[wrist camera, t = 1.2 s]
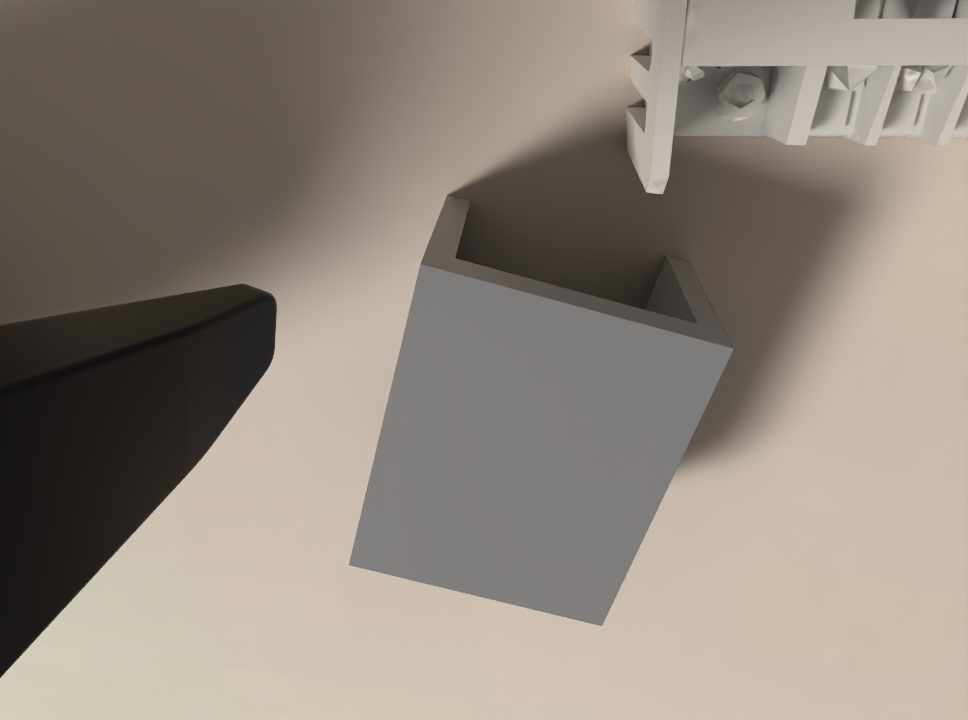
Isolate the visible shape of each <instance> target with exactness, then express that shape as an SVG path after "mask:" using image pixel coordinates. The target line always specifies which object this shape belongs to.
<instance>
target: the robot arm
mask: <svg viewBox="0 0 968 720" xmlns="http://www.w3.org/2000/svg"><path fill="white" fill-rule="evenodd" d="M276 312H277V305H276V300H275V298H274V297H273V295H272V294H270V293H268V292H265V291H263V290H260V289H257V288H255V287H252V286H249V285H246V284H238V285H232V286H226V287H220V288H214V289H209V290H203V291H197V292H191V293H185V294H179V295H174V296H168V297H162V298H156V299H150V300H144V301H138V302H133V303H127V304H121V305H115V306H109V307H103V308H97V309H92V310H86V311H80V312H74V313H68V314H62V315H56V316H51V317H45V318H39V319H33V320H27V321H21V322H15V323H10V324H4V325H0V678H1V677H2V675H3V674H4V673H5V672H6V671H7V670H8V669H9V668H10V667H11V666H12V665H13V664H14V662H15V661H16V660H17V659H18V658H19V657H20V656H21V655H22V654H23V653H24V652H25V651H26V649H27V648H28V647H29V646H30V645H31V644H32V643H33V642H34V641H35V640H36V639H37V637H38V636H39V635H40V634H41V633H42V632H43V631H44V630H45V629H46V628H47V627H48V626H49V624H50V623H51V622H52V621H53V620H54V619H55V618H56V617H57V616H58V615H59V614H60V612H61V611H62V610H63V609H64V608H65V607H66V606H67V605H68V604H69V603H70V602H71V601H72V599H73V598H74V597H75V596H76V595H77V594H78V593H79V592H80V591H81V590H82V589H83V587H84V586H85V585H86V584H87V583H88V582H89V581H90V580H91V579H92V578H93V577H94V576H95V574H96V573H97V572H98V571H99V570H100V569H101V568H102V567H103V566H104V565H105V564H106V563H107V561H108V560H109V559H110V558H111V557H112V556H113V555H114V554H115V553H116V552H117V551H118V549H119V548H120V547H121V546H122V545H123V544H124V543H125V542H126V541H127V540H128V539H129V538H130V536H131V535H132V534H133V533H134V532H135V531H136V530H137V529H138V528H139V527H140V526H141V524H142V523H143V522H144V521H145V520H146V519H147V518H148V517H149V516H150V515H151V514H152V513H153V511H154V510H155V509H156V508H157V507H158V506H159V505H160V504H161V503H162V502H163V501H164V499H165V498H166V497H167V496H168V495H169V494H170V493H171V492H172V491H173V490H174V489H175V488H176V486H177V485H178V484H179V483H180V482H181V481H182V480H183V479H184V478H185V477H186V476H187V475H188V473H189V472H190V471H191V470H192V469H193V468H194V467H195V465H196V464H197V463H198V462H199V461H200V460H201V459H202V457H203V456H204V455H205V454H206V452H207V451H208V450H209V449H210V447H211V446H212V445H213V443H214V442H215V441H216V439H217V438H218V437H219V435H220V434H221V432H222V431H223V430H224V428H225V427H226V426H227V424H228V423H229V421H230V420H231V419H232V417H233V416H234V415H235V413H236V412H237V410H238V409H239V408H240V406H241V405H242V404H243V402H244V401H245V400H246V398H247V397H248V395H249V394H250V393H251V391H252V390H253V389H254V387H255V386H256V384H257V383H258V382H259V380H260V379H261V378H262V376H263V375H264V373H265V372H266V371H267V369H268V368H269V366H270V364H271V361H272V359H273V355H274V350H275V332H276Z"/></svg>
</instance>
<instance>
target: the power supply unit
mask: <svg viewBox="0 0 968 720" xmlns="http://www.w3.org/2000/svg"><path fill="white" fill-rule="evenodd" d="M634 26H635V27H636V28H637V29H639V30H640V31H641V32H642V33H644V34H645V35H646V36H647V37H649V38H650V50H649V55H647V56H644V55H630V69H629V80H630V81H631V83H632V84H633V85H634V86H635V88H636V89H637V90H638V92H639V93H640V94H641V95H642V97H643V98H644V99H645V108H644V107H627V108H626V114H627V152H628V154H629V156H630V158H631V160H632V162H633V165H634V167H635V169H636V171H637V173H638V175H639V178H640V180H641V182H642V184H643V186H644V188H645V190H646V192H647V193H655V194H663V193H664V190H665V187H666V183H667V180H668V177H669V171H670V161H671V152H672V142H673V136H769V137H771V138H773V139H775V140H777V141H779V142H781V143H783V144H785V145H806V143H807V139H808V137H845V138H848V139H850V140H853V141H855V142H857V143H860V144H862V145H866V146H876V145H877V142H878V139H879V137H911V138H914V139H917V140H920V141H923V142H926V143H929V144H932V145H936V146H948V144H949V141H950V139H951V137H968V0H635V14H634ZM631 56H632V57H631ZM628 110H629V111H628ZM630 113H631V114H630ZM632 116H633V117H632ZM634 119H635V120H634ZM637 123H638V124H637ZM639 126H640V127H639Z"/></svg>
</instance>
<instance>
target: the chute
mask: <svg viewBox="0 0 968 720" xmlns="http://www.w3.org/2000/svg"><path fill="white" fill-rule="evenodd" d="M469 205H470V201H467V200H463V199H460V198H456V197H452V196H449V195H447V197H446V200H445V202H444V205H443V208H442V210H441V213H440V215H439V218H438V220H437V223H436V226H435V228H434V231H433V233H432V236H431V239H430V241H429V244H428V246H427V249H426V251H425V254H424V257H423V259H422V262H421V264H420V269H419V273H418V277H417V281H416V285H415V290H414V294H413V298H412V302H411V306H410V311H409V315H408V319H407V323H406V327H405V332H404V336H403V340H402V344H401V348H400V353H399V357H398V361H397V365H396V369H395V374H394V378H393V382H392V386H391V390H390V395H389V399H388V403H387V407H386V411H385V416H384V420H383V424H382V428H381V432H380V437H379V441H378V445H377V449H376V453H375V458H374V462H373V466H372V470H371V474H370V479H369V483H368V487H367V491H366V495H365V500H364V504H363V508H362V512H361V517H360V521H359V525H358V529H357V533H356V538H355V542H354V546H353V550H352V554H351V559H350V563H349V565H351V566H355V567H359V568H363V569H368V570H372V571H376V572H380V573H384V574H388V575H392V576H397V577H401V578H405V579H409V580H413V581H417V582H421V583H426V584H430V585H434V586H438V587H442V588H446V589H450V590H455V591H459V592H463V593H467V594H471V595H475V596H479V597H484V598H488V599H492V600H496V601H500V602H504V603H508V604H513V605H517V606H521V607H525V608H529V609H533V610H538V611H542V612H546V613H550V614H554V615H558V616H562V617H567V618H571V619H575V620H579V621H583V622H587V623H591V624H596V625H600V626H602V625H603V623H604V620H605V618H606V616H607V614H608V612H609V610H610V608H611V606H612V604H613V602H614V599H615V597H616V595H617V593H618V591H619V589H620V587H621V585H622V583H623V581H624V578H625V576H626V574H627V572H628V570H629V568H630V566H631V564H632V562H633V560H634V558H635V555H636V553H637V551H638V549H639V547H640V545H641V543H642V541H643V539H644V537H645V534H646V532H647V530H648V528H649V526H650V524H651V522H652V520H653V518H654V516H655V513H656V511H657V509H658V507H659V505H660V503H661V501H662V499H663V497H664V495H665V492H666V490H667V488H668V486H669V484H670V482H671V480H672V478H673V476H674V474H675V472H676V469H677V467H678V465H679V463H680V461H681V459H682V457H683V455H684V453H685V451H686V448H687V446H688V444H689V442H690V440H691V438H692V436H693V434H694V432H695V430H696V427H697V425H698V423H699V421H700V419H701V417H702V415H703V413H704V411H705V409H706V406H707V404H708V402H709V400H710V398H711V396H712V394H713V392H714V390H715V388H716V386H717V383H718V381H719V379H720V377H721V375H722V373H723V371H724V369H725V367H726V365H727V362H728V360H729V358H730V356H731V354H732V352H733V350H734V348H733V346H732V344H731V342H730V340H729V338H728V336H727V334H726V332H725V331H724V329H723V327H722V325H721V323H720V321H719V319H718V317H717V315H716V313H715V311H714V309H713V307H712V306H711V304H710V302H709V300H708V298H707V296H706V294H705V292H704V290H703V288H702V286H701V284H700V282H699V281H698V279H697V277H696V275H695V273H694V271H693V269H692V267H691V265H690V263H689V262H687V261H683V260H680V259H676V258H672V257H669V256H666V259H665V261H664V264H663V266H662V269H661V271H660V274H659V276H658V279H657V281H656V284H655V286H654V289H653V291H652V294H651V296H650V299H649V301H648V304H647V306H646V309H645V310H644V309H640V308H637V307H633V306H629V305H626V304H622V303H618V302H615V301H611V300H607V299H604V298H600V297H596V296H592V295H589V294H585V293H581V292H578V291H574V290H570V289H567V288H563V287H559V286H556V285H552V284H548V283H545V282H541V281H537V280H534V279H530V278H526V277H523V276H519V275H515V274H511V273H508V272H504V271H500V270H497V269H493V268H489V267H486V266H482V265H478V264H475V263H471V262H467V261H464V260H460V259H456V255H457V251H458V247H459V243H460V240H461V236H462V232H463V228H464V224H465V220H466V217H467V213H468V209H469Z"/></svg>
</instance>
